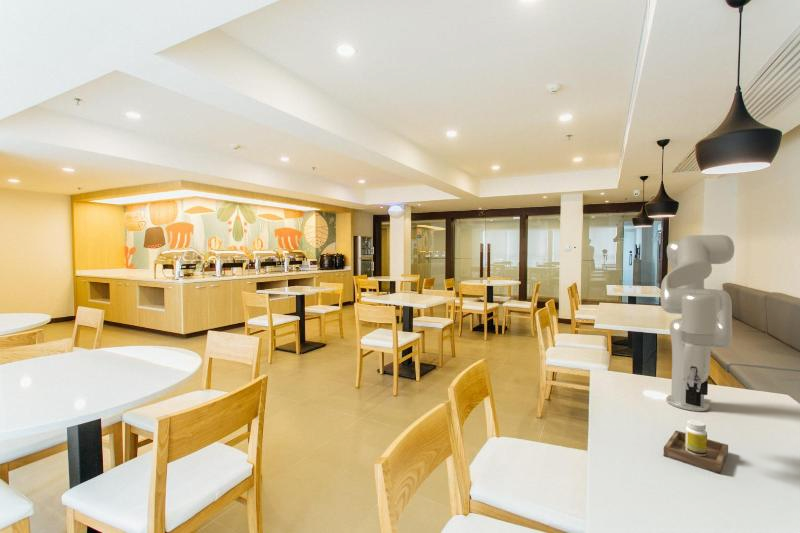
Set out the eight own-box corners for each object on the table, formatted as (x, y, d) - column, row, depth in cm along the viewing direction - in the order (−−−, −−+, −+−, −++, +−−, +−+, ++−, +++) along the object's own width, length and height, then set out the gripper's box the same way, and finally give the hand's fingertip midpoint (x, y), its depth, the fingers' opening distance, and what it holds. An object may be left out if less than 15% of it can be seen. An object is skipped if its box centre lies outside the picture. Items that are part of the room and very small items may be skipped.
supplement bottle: (710, 457, 103) (711, 427, 102) (690, 456, 104) (691, 425, 103) (700, 448, 107) (701, 419, 107) (681, 447, 108) (682, 418, 108)
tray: (675, 438, 114) (675, 430, 114) (728, 453, 106) (728, 444, 106) (663, 455, 105) (663, 447, 105) (719, 474, 96) (720, 464, 96)
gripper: (688, 330, 113) (686, 386, 114) (673, 342, 101) (672, 405, 102) (720, 334, 107) (719, 393, 108) (710, 347, 95) (708, 413, 97)
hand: (696, 399), depth 105 cm, fingers open, 9 cm apart
